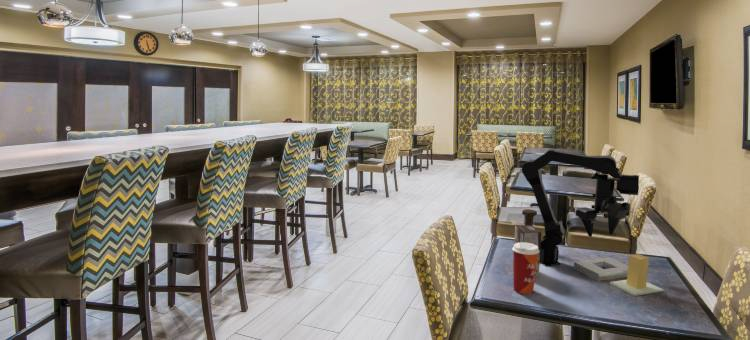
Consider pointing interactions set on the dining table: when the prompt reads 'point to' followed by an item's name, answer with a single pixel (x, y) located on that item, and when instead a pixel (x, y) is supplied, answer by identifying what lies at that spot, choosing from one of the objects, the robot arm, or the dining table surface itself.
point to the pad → (634, 291)
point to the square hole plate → (596, 272)
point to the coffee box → (529, 239)
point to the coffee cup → (524, 266)
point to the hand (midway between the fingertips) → (600, 235)
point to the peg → (637, 271)
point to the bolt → (529, 216)
